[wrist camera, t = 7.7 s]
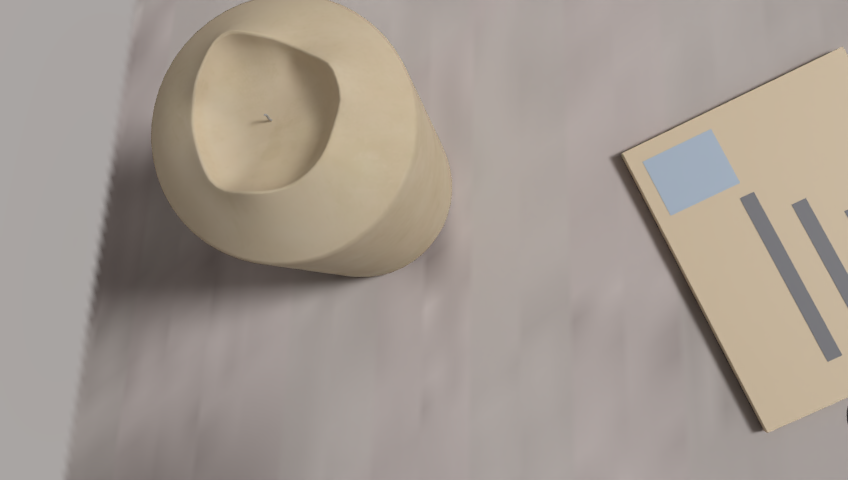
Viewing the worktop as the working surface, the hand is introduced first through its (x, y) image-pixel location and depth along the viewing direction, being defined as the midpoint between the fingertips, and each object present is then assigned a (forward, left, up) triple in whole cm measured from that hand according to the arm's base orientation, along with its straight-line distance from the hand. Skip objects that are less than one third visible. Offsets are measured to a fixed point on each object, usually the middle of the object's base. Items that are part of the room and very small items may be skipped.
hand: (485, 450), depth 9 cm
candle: (+7, +2, -13) cm, 15 cm away
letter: (0, -9, -13) cm, 16 cm away
